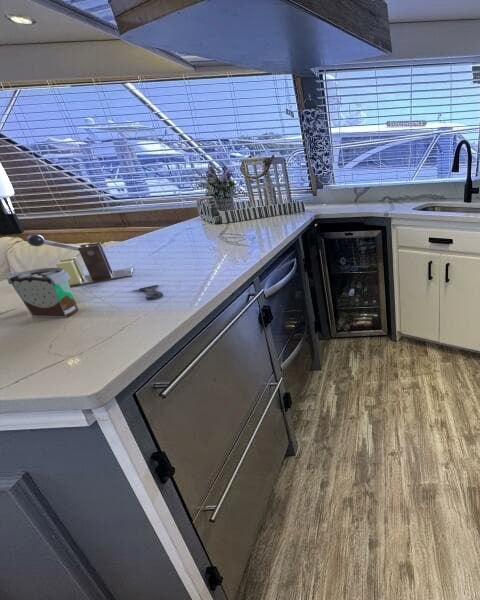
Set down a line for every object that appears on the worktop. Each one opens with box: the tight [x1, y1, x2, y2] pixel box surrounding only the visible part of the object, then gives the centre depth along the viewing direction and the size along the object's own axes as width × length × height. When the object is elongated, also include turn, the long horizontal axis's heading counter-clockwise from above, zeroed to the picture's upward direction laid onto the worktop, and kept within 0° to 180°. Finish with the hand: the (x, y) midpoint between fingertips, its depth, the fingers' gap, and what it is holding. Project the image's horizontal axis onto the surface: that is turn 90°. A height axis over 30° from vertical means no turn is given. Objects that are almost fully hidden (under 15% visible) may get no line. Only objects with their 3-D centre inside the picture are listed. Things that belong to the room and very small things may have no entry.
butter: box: [55, 256, 86, 285], centre depth 92 cm, size 3×8×6 cm, turn 36°
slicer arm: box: [26, 233, 79, 252], centre depth 89 cm, size 14×3×3 cm, turn 126°
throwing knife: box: [138, 284, 164, 300], centre depth 87 cm, size 4×20×1 cm, turn 44°
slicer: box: [69, 242, 134, 289], centre depth 94 cm, size 14×10×11 cm
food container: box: [6, 267, 79, 319], centre depth 74 cm, size 12×6×10 cm, turn 82°
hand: (12, 234), depth 66 cm, fingers closed
